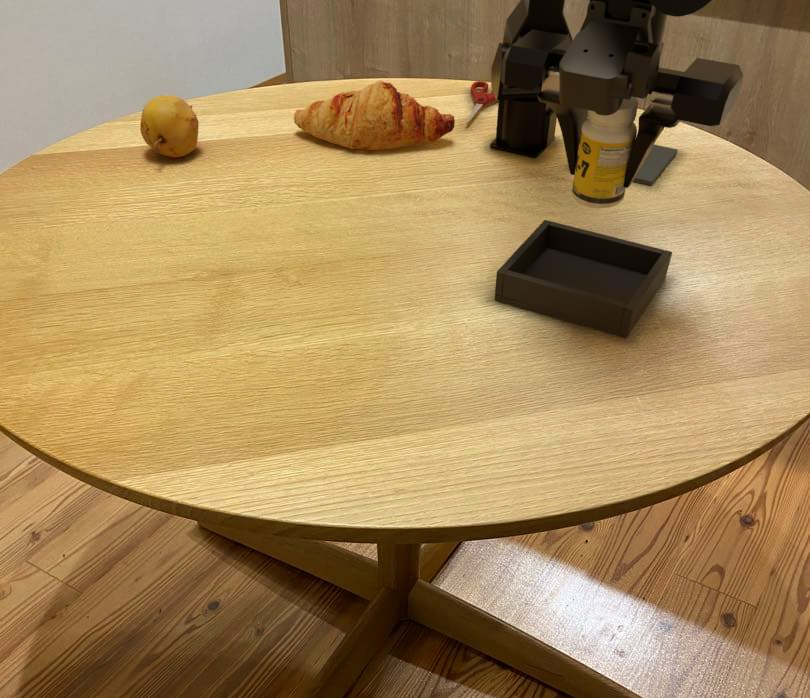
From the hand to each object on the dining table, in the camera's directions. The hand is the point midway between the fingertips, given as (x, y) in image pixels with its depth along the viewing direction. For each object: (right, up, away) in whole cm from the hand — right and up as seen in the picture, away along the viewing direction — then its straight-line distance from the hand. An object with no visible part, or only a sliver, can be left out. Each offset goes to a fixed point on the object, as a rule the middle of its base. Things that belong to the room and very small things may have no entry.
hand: (600, 179), depth 71 cm
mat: (+10, +14, +27) cm, 32 cm away
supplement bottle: (0, -1, +1) cm, 2 cm away
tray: (0, -8, +8) cm, 11 cm away
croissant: (-22, +20, +32) cm, 43 cm away
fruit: (-47, +17, +30) cm, 58 cm away
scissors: (-7, +27, +38) cm, 47 cm away
